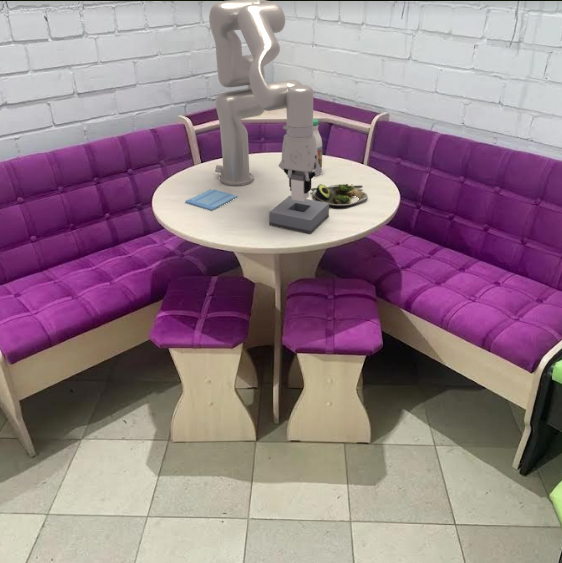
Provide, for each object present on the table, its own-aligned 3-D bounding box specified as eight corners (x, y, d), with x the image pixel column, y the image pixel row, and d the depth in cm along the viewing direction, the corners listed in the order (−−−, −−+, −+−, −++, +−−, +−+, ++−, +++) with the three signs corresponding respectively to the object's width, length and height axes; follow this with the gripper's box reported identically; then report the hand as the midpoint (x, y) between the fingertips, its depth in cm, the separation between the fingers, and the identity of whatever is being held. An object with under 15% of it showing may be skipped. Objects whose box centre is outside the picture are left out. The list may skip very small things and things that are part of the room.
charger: (291, 199, 172) (290, 174, 168) (297, 194, 175) (296, 169, 170) (303, 201, 170) (302, 176, 166) (308, 196, 173) (308, 171, 169)
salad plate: (347, 183, 204) (347, 171, 202) (380, 199, 191) (381, 186, 189) (303, 195, 195) (303, 183, 193) (335, 213, 182) (336, 199, 180)
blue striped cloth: (211, 191, 200) (211, 188, 199) (238, 199, 194) (237, 195, 193) (185, 204, 190) (184, 200, 190) (212, 212, 184) (211, 208, 184)
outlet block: (269, 225, 174) (269, 211, 172) (289, 208, 185) (289, 195, 183) (310, 233, 169) (310, 220, 166) (328, 216, 179) (329, 203, 177)
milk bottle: (297, 174, 212) (297, 120, 202) (308, 168, 217) (308, 116, 207) (314, 178, 208) (315, 124, 198) (325, 172, 214) (327, 119, 203)
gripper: (268, 131, 163) (270, 190, 172) (321, 137, 156) (320, 199, 165) (280, 124, 168) (281, 182, 178) (331, 130, 162) (330, 190, 171)
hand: (300, 190), depth 171 cm, fingers closed on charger, 4 cm apart
